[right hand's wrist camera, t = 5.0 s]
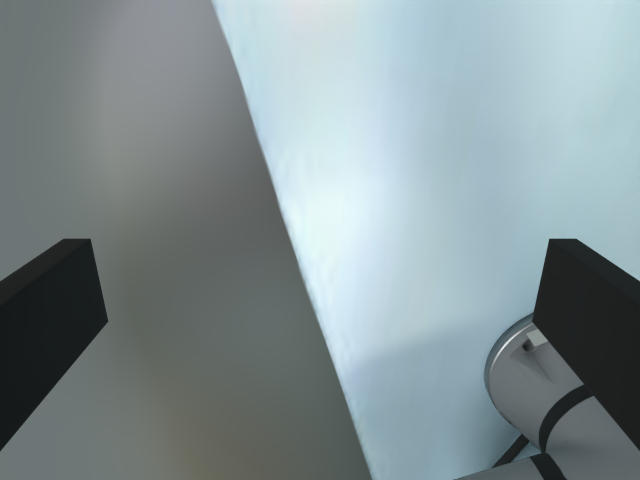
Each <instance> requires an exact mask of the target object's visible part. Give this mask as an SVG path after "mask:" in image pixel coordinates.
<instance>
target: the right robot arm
mask: <svg viewBox="0 0 640 480" xmlns="http://www.w3.org/2000/svg"><path fill="white" fill-rule="evenodd" d="M107 322H108V318H107V314H106V309H105V304H104V299H103V295H102V290H101V286H100V281H99V276H98V271H97V267H96V262H95V258H94V253H93V248H92V243H91V239H63V240H61V241H60V242H58V243H57V244H55V245H54V246H52V247H51V248H49V249H48V250H46V251H45V252H43V253H42V254H40V255H39V256H37V257H36V258H34V259H33V260H31V261H30V262H28V263H27V264H25V265H24V266H22V267H21V268H19V269H18V270H17V271H15V272H13V273H12V274H11V275H9V276H8V277H6V278H5V279H3V280H2V281H0V451H1V450H2V449H3V447H4V446H5V445H6V444H7V442H8V441H9V440H10V439H11V438H12V436H13V435H14V434H15V433H16V432H17V430H18V429H19V428H20V427H21V426H22V424H23V423H24V422H25V421H26V420H27V418H28V417H29V416H30V415H31V414H32V412H33V411H34V410H35V409H36V408H37V406H38V405H39V404H40V403H41V402H42V400H43V399H44V398H45V397H46V396H47V394H48V393H49V392H50V391H51V390H52V388H53V387H54V386H55V385H56V383H57V382H58V381H59V380H60V379H61V378H62V376H63V375H64V374H65V373H66V372H67V370H68V369H69V368H70V367H71V365H72V364H73V363H74V362H75V361H76V360H77V358H78V357H79V356H80V355H81V354H82V352H83V351H84V350H85V349H86V347H87V346H88V345H89V344H90V343H91V341H92V340H93V339H94V338H95V337H96V335H97V334H98V333H99V332H100V331H101V329H102V328H103V327H104V326H105V325H106V323H107ZM484 380H485V386H486V389H487V392H488V394H489V396H490V398H491V400H492V402H493V404H494V406H495V407H496V409H497V410H498V411H499V413H500V414H501V415H502V416H503V418H504V419H505V420H506V421H508V422H509V423H510V424H511V425H513V426H514V427H515V428H517V429H518V430H519V431H520V432H521V433H522V434H521V435H520V437H519V438H518V439H517V440H516V441H515V442H514V444H513V445H512V446H511V447H510V448H509V449H508V451H507V452H506V453H505V454H504V455H503V456H502V457H501V459H500V460H499V461H498V462H497V463H496V464H495V465H494V466H493V467H492V468H491V469H488V470H484V471H481V472H478V473H474V474H471V475H468V476H464V477H461V478H458V479H454V480H640V281H638V280H637V279H635V278H634V277H632V276H631V275H629V274H628V273H627V272H625V271H624V270H622V269H621V268H619V267H618V266H616V265H615V264H613V263H612V262H610V261H609V260H607V259H606V258H604V257H603V256H601V255H600V254H598V253H597V252H595V251H594V250H592V249H591V248H589V247H588V246H586V245H585V244H583V243H582V242H580V241H579V240H577V239H549V243H548V248H547V253H546V257H545V262H544V267H543V271H542V276H541V281H540V285H539V290H538V295H537V299H536V304H535V309H534V313H533V314H531V315H529V316H527V317H525V318H523V319H522V320H520V321H518V322H517V323H515V324H514V325H513V326H511V327H510V328H509V329H508V330H507V331H506V332H505V333H504V334H503V335H502V336H501V337H500V338H499V339H498V340H497V342H496V343H495V345H494V346H493V348H492V350H491V351H490V353H489V356H488V358H487V361H486V365H485V371H484ZM529 441H530V442H531V443H533V444H534V445H535V446H536V447H537V448H538V449H539V450H540V451H541V454H537V455H534V456H531V457H527V458H524V459H521V460H518V461H515V462H512V460H513V459H514V458H515V457H516V456H517V455H518V454H519V453H520V452H521V450H522V449H523V448H524V447H525V446H526V445H527V444H528V442H529Z"/></svg>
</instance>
